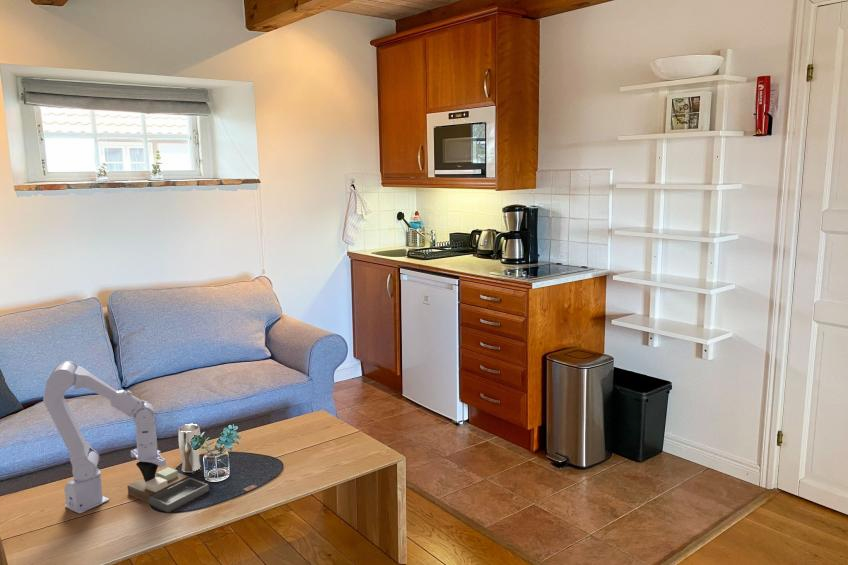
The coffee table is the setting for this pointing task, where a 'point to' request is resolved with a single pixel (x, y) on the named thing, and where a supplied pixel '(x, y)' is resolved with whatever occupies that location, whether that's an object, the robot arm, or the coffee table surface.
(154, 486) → the cream tile
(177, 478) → the walnut board
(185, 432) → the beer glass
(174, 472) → the sage tile
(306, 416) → the coffee table surface
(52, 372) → the robot arm
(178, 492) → the box
